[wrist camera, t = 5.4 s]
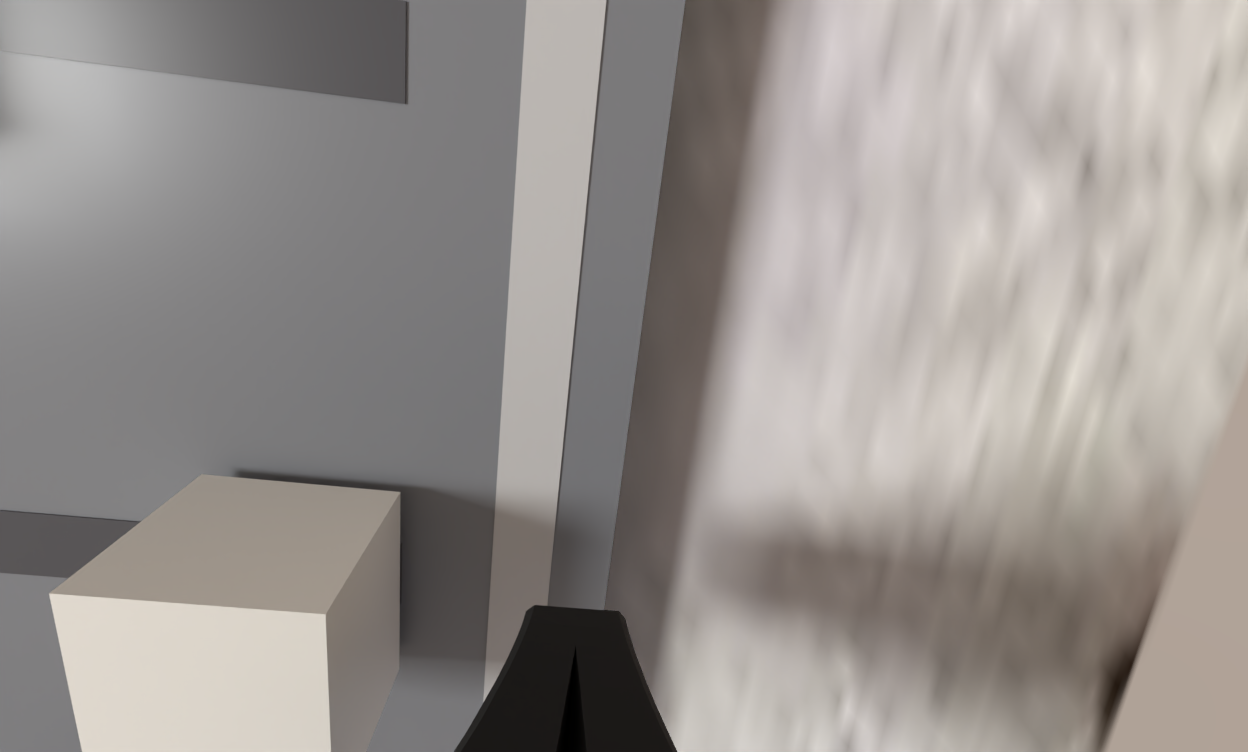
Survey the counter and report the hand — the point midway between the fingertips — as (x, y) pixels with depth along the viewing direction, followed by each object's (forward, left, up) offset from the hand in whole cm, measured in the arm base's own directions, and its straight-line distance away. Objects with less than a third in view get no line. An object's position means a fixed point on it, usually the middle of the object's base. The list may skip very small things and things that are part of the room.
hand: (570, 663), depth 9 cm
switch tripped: (+4, 0, -1) cm, 5 cm away
